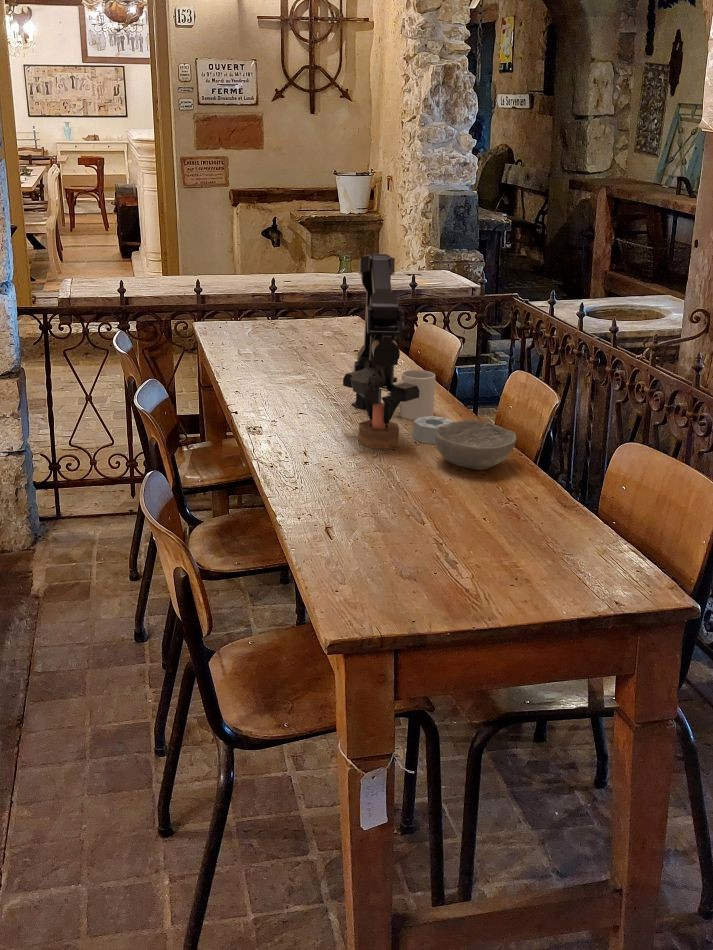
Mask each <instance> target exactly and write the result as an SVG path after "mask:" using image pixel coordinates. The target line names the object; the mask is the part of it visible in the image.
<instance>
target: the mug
mask: <svg viewBox="0 0 713 950" xmlns="http://www.w3.org/2000/svg"><path fill="white" fill-rule="evenodd" d="M402 383H409V384H413V385H417V386H418V388H419V390H420V393H419V398H416V399H413V400H409V401H406V402H400V403H399V405H398V406H397V408H399V416H400V417H401V418H402V419H404V420H408V421H415V420H416V419H417V418H419V417H427V416H434V407H435V392H436V391H435V389H436V387H435V386H436V374H435V373H434V372H432V371H428V370H423V369H410V370H405V371H403V372H402V373H401V380H397V382H395V383H393V385H399V384H402Z"/></svg>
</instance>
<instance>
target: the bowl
mask: <svg viewBox="0 0 713 950" xmlns="http://www.w3.org/2000/svg"><path fill="white" fill-rule="evenodd" d="M435 441H436V445H435V447H436V449H437V451H438V452H439V454H440V455H441V456H442V457H443V458H444V459H445V460H447V461H448V462H449V463H452V464H453V465H455V466H459V467H462V468H466V469H472V470H476V471H485V470H488V469H489V468H490V469H491V468H493V467H494V466H496V465H499V464H502V463H503V462H504V460H506V459H507V458H508V457H509V455H510V454H511V453H512V451H513V450H514V447H515V445H516V442H517V435H516V432H515V431H513V430H508V429H507V428H504V427H502V426H499V425H496V424H494V423H489V422H483V421H482V420H475V419H462V420H458V421H453V423H450V424H446V425H444V426H440V427H438V428H437V429H436V434H435Z"/></svg>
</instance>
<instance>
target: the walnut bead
mask: <svg viewBox="0 0 713 950" xmlns="http://www.w3.org/2000/svg"><path fill="white" fill-rule="evenodd" d="M398 424H399V423H396V422H393V421H391V420H390V421H389V423H388V424H385V428H384V429H376V428H372V420H370V419H369V420H368V419H367V420H364V421H361V422H359V423H358V444H359V445H360V446H364V447H367V448H371V449H389V448H393V447H396V446H399V436H400V427H399V425H398Z"/></svg>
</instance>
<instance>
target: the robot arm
mask: <svg viewBox="0 0 713 950" xmlns="http://www.w3.org/2000/svg"><path fill="white" fill-rule="evenodd" d="M395 264H396V259H395V257H392V256H391V255H389V254H388V253H371V254H364V255H363V256H362V257H361V256H360V257H359V260H358V274H359V275H360V278H361V283H362V285H363V287H364V289H365V290H366V298H365V299H366V300H365V316H364V317H365V318H364V334H363V335H364V338H363V340H364V341H363V345H362V346H361V347H360V349H359V350H358V352H357V354H356V360H355V361H354V363H353V364H354V365H353V370H352V371H351V372H348V373H347V372H346V373H345V374H344V376H343V377H342V386H343V387H347V388H350V389H352V392H355V402H351V406H354V407H356V408H360V409H364V410H366V412H367V416H368V418H369V420H372V417H373V404H384V424H388V423H389V421H390V422H391V419H392V417H393V415H394V414H395V412H396V410H397V408H398V407H397V406H398V405H399V403H400V402H406V401H409V400H413V399H416V398H419V393H420V390H419V388H418V386H417V385H413V384H409V383H402V384H399V385H393V383H395V382H397V381H398V377H397V376H394V374H395V366H396V365H398V364H399V359H400V356H401V353H400V348H399V347H398V344H397V341H396V336H403V331H405V311H404V310H403V307H402V306H401V305H400V304H399V298H398V296H397V295H395V294H394V293H393V291H392V282H391V278H392V277H391V276H394V274H395V272H396V271H395V269H396V268H395V266H396V265H395ZM382 391H384V392H387V393H386V396H382Z"/></svg>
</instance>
